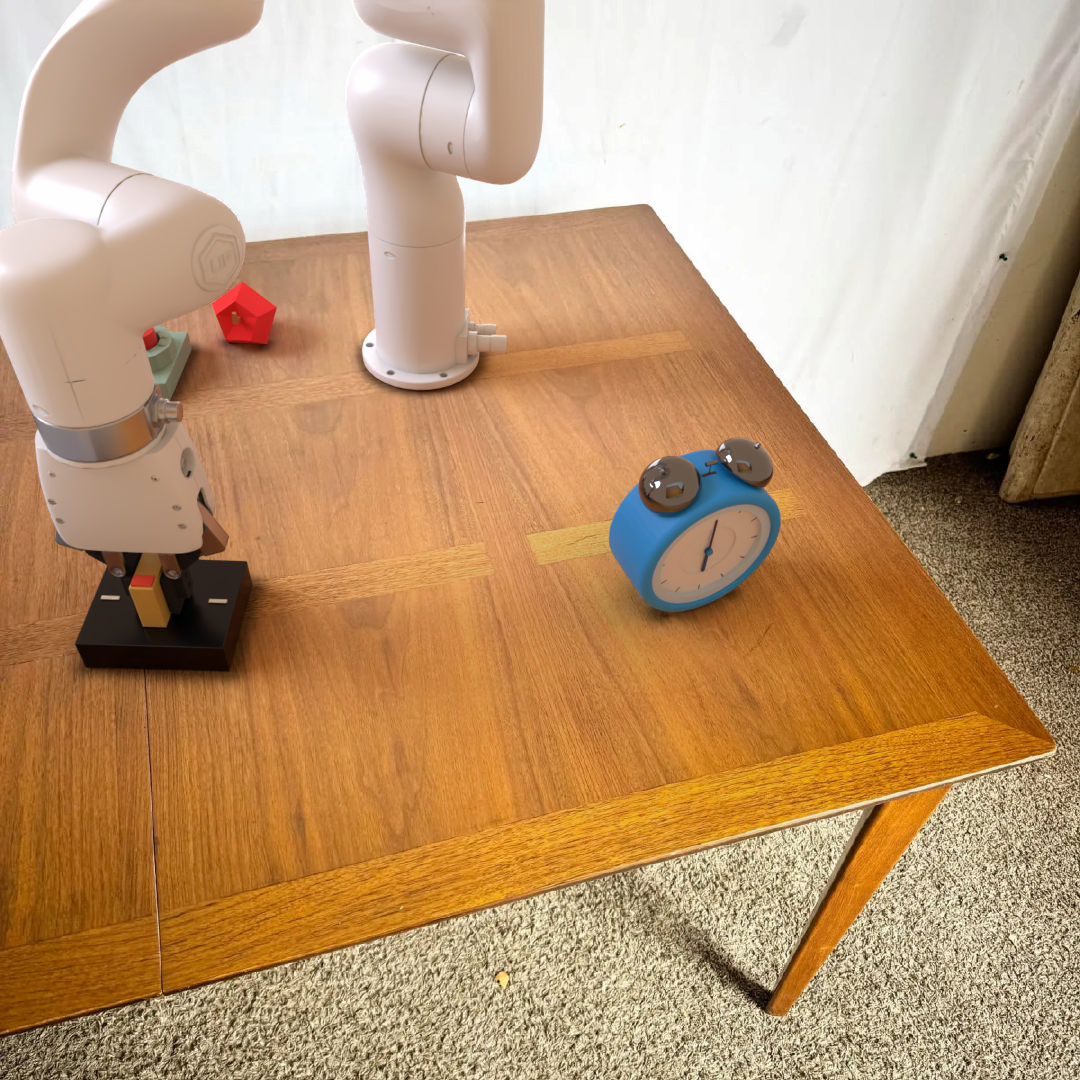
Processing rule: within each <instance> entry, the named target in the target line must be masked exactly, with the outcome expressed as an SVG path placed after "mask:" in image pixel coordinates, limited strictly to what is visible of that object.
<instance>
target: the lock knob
mask: <svg viewBox="0 0 1080 1080" xmlns="http://www.w3.org/2000/svg"><path fill="white" fill-rule="evenodd" d="M162 572H163V569H162V565H161V562H160V559H159V556H158V553H142V556H141V558H140V561H139V563H138V566H137V568H136V571H135V574H134V576H133V579H132V581H131V584H130V586H129V591H130V594H131V596H132V599H133V601H134V604H135V607H136V609H137V612H138V614H139V617H140V620H141V622H142V625H143V626H144V627H167V624H168V621H169V618H170V615H171V612H170V611H169V608H168V606H167V603H166V600H165V597H164V594H163V591H162V588H161V585H160V578H161V575H162Z"/></svg>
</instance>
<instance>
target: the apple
mask: <svg viewBox="0 0 1080 1080" xmlns="http://www.w3.org/2000/svg"><path fill="white" fill-rule="evenodd" d="M211 307H212V309H213V313H214V314H215V317H216V319H217V322H218V324H219V327H220V329H221V331H222V333H223V337H224V340H225V341H226V343H237V344H238V343H239V344H255V345H256V344H257V345H268V342H269V339H270V335H271V331H272V327H273V323H274V320H275V316H276V312H277V310H278V309H277V308H278V306H277V305H275V304H274V303H272V302H270V301H269V300H268V299H267V298H265V297H264V296H263V295H262V294H260V293H259V292H258V291H256V290H255V289H253V288H252V287H251V286H249V285H248V284H247V283H245V282H244V281H241V282H240V283H238V284H237V285H235V286H233V288H231V289H229V290H228V291H226V293H223V294H222V295H221V296H220V297H218V298H217V299H215V300H214V301H212V302H211Z"/></svg>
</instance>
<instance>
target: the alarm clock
mask: <svg viewBox="0 0 1080 1080" xmlns="http://www.w3.org/2000/svg"><path fill="white" fill-rule="evenodd" d="M773 477H774V464H773V460H772V458H771V456H770V454H769V453H768V452H767V450H766V449H765V448H764V447H763V446H762V443H761V442H760V441H758V442H756V441H754V440H752V439H750V438H745V437H740V436H739V437H731V438H728V439H726V440H724V441H722V442H721V443H719V445H718V446H717V448H716V449H701V450H696V451H695V450H694V451H692V452H688V453H684V454H682V455H665V456H661V457H659V458H657V459H654V460H653V461H652V462H651V463H649V464H648V465H647V466H646V467H645V468H644V470H642V472H641V474H640V476H639V479H638V482H637V483H636V485H634V487H632V489H630V491H629V492H628V493H627V495H626V496H625V497H624V498H623V500H622V501H621V503H620V504H619V505H618V507H617V509H616V511H615V513H614V515H613V517H612V520H611V523H610V527H609V532H608V544H609V549H610V551H611V554H612V556H613V557H614V559H615V561H616V562H617V563H618V565H619V566H620V569H622V571H623V572H624V574H625V575H626V577H627V579H628V580H629V581H630V583H631V584H632V586H633V587H634V588H635V590H636V591H637V593H638V594H639V596H640V598H641V599H642V600H643V601H644V602H645V603H646V604H647V605H648V606H649V607H651V608H653V609H654V610H655V609H656V610H657V612H656V614H657V615H658V616H661V615H662V614H664V613H665V612H667V613H679V612H685V611H690V610H693V609H697V608H700V607H703V606H706V605H708V604H711V603H713V602H715V601H717V600H718V599H721V598H722V597H725V596H726V595H727V594H730V593H731V592H733V591H734V590H735V589H736V588H738V587H739V586H740V585H741V584H743V583H744V582H745V581H746V580H747V579H748V578H750V577H751V576H752V575H753V574H754V573H755V572H756V571H757V570H758V569H759V567H760V566H761V565H762V564H763V563H764V561H765V560H766V559H767V557H768V556H769V555H770V553H771V551H772V550H773V548H774V546H775V544H776V542H777V539H778V538H779V534H780V530H781V524H782V523H781V522H782V517H781V511H780V508H779V506H778V504H777V502H776V501H775V499H774V498H773V497H772V496H771V495H770V494H769V492H768V491H767V490H766V489H765V488H767V487H768V486H769V484H770V483H771V481H772V479H773Z"/></svg>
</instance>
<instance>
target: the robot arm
mask: <svg viewBox="0 0 1080 1080" xmlns="http://www.w3.org/2000/svg"><path fill="white" fill-rule="evenodd" d="M266 1H267V0H82V1H81V2H80V3H79V4H78V6H76V8H75V9H74V10H73V11H72V12H71V13H70V14H69V16H68V17H66V19H65V21H64V22H63V24H62V25H61V26H60V28H59V29H58V30H57V31H56V33H55V35H54V36H53V37H52V39H51V40H50V42H49V43H48V44H47V46H46V47H45V49H44V50H43V52H42V53H41V55H40V56H39V58H38V60H36V63H35V64H34V66H33V68H32V71H31V73H30V75H29V77H28V79H27V82H26V85H25V87H24V90H23V93H22V97H21V102H20V107H19V113H18V119H17V124H16V125H17V126H16V133H15V141H14V147H13V156H12V164H11V174H10V175H11V177H10V179H11V180H10V181H11V182H10V184H11V185H10V203H11V211H12V216H13V222H14V223H13V224H10V225H8V226H6V227H3V228H1V229H0V338H1V341H2V344H3V346H4V348H5V351H6V353H7V356H8V359H9V361H10V363H11V365H12V369H13V371H14V372H15V376H16V378H17V380H18V383H19V385H20V388H21V390H22V393H23V395H24V398H25V401H26V402H27V405H28V407H29V410H30V413H31V415H32V418H33V420H34V423H35V425H36V428H37V430H36V431H35V432H36V433H35V436H34V447H35V449H34V450H35V458H36V466H37V472H38V477H39V483H40V486H41V489H42V494H43V497H44V500H45V504H46V507H47V510H48V512H49V515H50V517H51V521H52V523H53V525H54V527H55V529H56V533H55V538H54V541H55V542H56V544H58V545H59V546H62V547H65V548H69V549H73V550H76V551H80V552H83V551H84V552H85V554H86V555H88V556H89V557H91V558H93V559H95V560H97V561H99V562H100V563H102V564H104V565H106V567H107V568H108V570H109V572H110V574H112V575H113V576H116V577H120V579H121V582H122V585H123V587H124V590H125V592H126V595H127V596H130V598H131V600H132V603H133V605H134V608H135V611H136V612H137V609H136V607H135V604H134V601H133V599H132V596H131V594H130V591H129V586H130V584H131V581H132V579H133V576H134V574H135V571H136V568H137V566H138V563H139V561H140V558H141V556H142V553H158V556H159V559H160V562H161V565H162V569H163V572H162V575H161V578H160V585H161V588H162V591H163V594H164V597H165V600H166V603H167V606H168V608H169V611H170V612H172V614H180V612H181V609H182V606H183V603H184V601H185V598H188V599H189V598H190V597H191V594H192V591H193V581H192V577H191V574H190V571H189V566H191V565H192V564H193V563H194V562H196V561H197V560H198V559H200V557H203V556H204V557H209V556H212V555H217V554H220V553H223V552H225V551H226V548H227V545H228V542H229V538H230V536H229V534H228V533H227V531H226V530H225V529H224V528H223V527H222V526H221V524H220V523H219V522H218V520H217V519H216V518H215V517H214V514H215V509H216V502H215V498H214V497H215V496H214V494H213V491H212V486H211V484H210V481H209V478H208V476H207V472H206V471H205V468H204V465H203V462H202V461H201V457H200V455H199V453H198V450H197V448H196V446H195V444H194V442H193V441H192V438H191V436H190V435H189V433H188V431H187V429H186V427H185V426H184V425H183V423H182V421H183V419H184V418H183V417H184V407H183V403H182V401H175V400H174V401H172V400H169V399H165V398H164V397H163V396H162V394H161V390H160V387H159V383H155V380H154V377H153V373H152V370H151V366H150V363H149V359H148V355H147V352H146V348H145V345H144V341H143V338H142V337H143V334H144V332H145V331H147V330H148V329H150V328H153V327H155V326H158V325H162V324H165V323H167V322H169V321H172V320H174V319H178V318H180V317H182V316H185V315H188V314H190V313H193V312H195V311H198V310H199V309H201V308H203V307H205V306H207V305H209V304H210V303H211V304H212V303H213V302H215V301H216V300H217V299H219V298H220V297H222V296H223V295H224V294H225V292H227V290H229V288H230V287H231V286H232V285H233V284H234V282H235V281H236V280H237V278H238V276H239V274H240V273H241V270H242V268H243V266H244V262H245V258H246V252H247V243H246V234H245V230H244V227H243V224H242V223H241V221H240V219H239V217H238V215H237V214H236V212H235V211H234V210H233V209H232V208H231V207H230V206H229V205H228V204H226V203H225V202H224V201H223V200H221V199H220V198H218V197H216V196H215V195H213V194H211V193H209V192H208V191H205V190H203V189H199V188H196V187H193V186H190V185H187V184H184V183H181V182H177V181H173V180H170V179H167V178H163V177H160V176H156V175H154V174H152V173H148V172H145V171H142V170H137V169H134V168H131V167H128V166H124V165H121V164H118V163H113V162H112V158H113V151H114V145H115V139H116V136H117V132H118V128H119V124H120V122H121V120H122V118H123V114H124V112H125V110H126V108H127V106H128V105H129V103H130V101H131V100H132V99H133V97H134V95H136V93H137V92H138V91H139V89H140V88H141V87H142V86H143V85H145V83H146V82H148V81H149V80H150V79H151V78H152V77H153V76H155V75H156V74H158V73H159V72H161V71H162V70H163V69H165V68H167V67H168V66H171V65H172V64H175V63H176V62H178V61H182V60H185V59H186V58H189V57H191V56H194V55H197V54H199V53H201V52H205V51H207V50H210V49H213V48H216V47H219V46H222V45H225V44H229V43H233V42H235V41H237V40H241V39H242V38H244V37H248V35H250V34H251V33H253V32H254V31H255V30H256V29H257V28H258V27H259V25H260V23H261V22H262V19H263V15H264V11H265V5H266ZM350 1H351V5H352V8H353V10H354V13H355V14H356V17H357V18H358V20H359V21H360V22H361V23H362V24H363V25H364V26H365V27H366V28H368V29H369V30H371V31H374V32H375V33H377V34H380V35H383V36H386V37H389V38H392V39H395V40H399V41H402V42H383V43H378V44H375V45H372V46H370V47H368V48H366V49H365V50H364V51H362V52H361V53H360V54H359V55H358V56H357V58H356V59H355V60H354V62H353V64H352V66H351V67H350V70H349V71H348V75H347V78H346V84H345V95H344V96H345V97H344V98H345V109H346V116H347V121H348V126H349V130H350V133H351V136H352V140H353V144H354V147H355V151H356V153H357V156H358V161H359V166H360V171H361V179H362V184H363V192H364V193H363V194H364V202H365V203H364V204H365V215H366V226H367V241H368V253H369V266H370V267H369V268H370V280H371V292H372V305H373V318H374V328H373V329H372V330H371V331H370V332H369V333H368V334H367V335H366V336H365V338H364V340H363V343H362V349H361V355H362V361H363V363H364V366H365V368H366V369H367V370H368V372H369V373H370V374H371V375H372V376H373V377H375V378H376V379H378V380H379V381H381V382H382V383H385V384H387V385H390V386H393V387H395V388H400V389H404V390H414V391H426V390H427V391H429V390H437V389H442V388H446V387H450V386H452V385H454V384H457V383H459V382H461V381H462V380H464V379H466V378H467V377H469V376H470V375H471V374H472V373H473V372H474V371H475V369H476V367H477V366H478V363H479V361H480V353H490V354H507V352H508V335H505V334H497V323H483V324H482V323H476V321H475V320H470V308H469V307H466V225H467V221H466V219H467V218H466V217H467V216H466V215H467V214H466V211H467V210H466V202H465V198H464V197H465V196H464V193H463V191H462V186H461V184H460V182H459V179H458V177H460V178H464V179H467V180H471V181H474V182H481V183H484V184H489V185H494V186H495V185H496V186H497V185H498V186H507V185H512V184H514V183H517V182H519V181H521V180H522V179H523V178H525V176H526V175H527V174H528V173H529V172H530V170H531V169H532V167H533V165H534V163H535V161H536V158H537V157H538V156H537V155H538V152H539V148H540V144H541V138H542V132H543V121H544V120H543V119H544V86H545V85H544V82H545V81H544V78H545V69H544V68H545V22H546V21H545V20H546V19H545V18H546V17H545V16H546V15H545V14H546V2H545V1H546V0H350ZM405 42H406V43H405Z"/></svg>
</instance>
